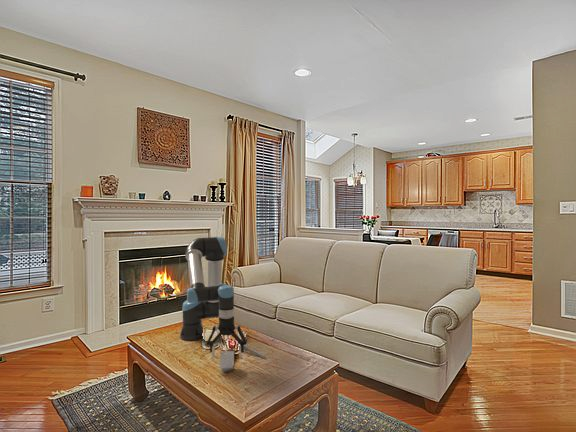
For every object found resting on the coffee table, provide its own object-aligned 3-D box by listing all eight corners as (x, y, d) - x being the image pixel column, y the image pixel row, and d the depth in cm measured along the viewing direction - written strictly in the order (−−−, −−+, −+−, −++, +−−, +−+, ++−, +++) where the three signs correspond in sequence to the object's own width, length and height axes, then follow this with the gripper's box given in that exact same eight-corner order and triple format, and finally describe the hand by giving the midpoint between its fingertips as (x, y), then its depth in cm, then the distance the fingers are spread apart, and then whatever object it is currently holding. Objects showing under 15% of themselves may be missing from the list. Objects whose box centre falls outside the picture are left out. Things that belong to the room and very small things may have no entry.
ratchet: (232, 372, 170) (231, 359, 170) (220, 372, 170) (220, 360, 170) (237, 353, 192) (237, 342, 192) (227, 353, 192) (227, 342, 192)
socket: (222, 362, 175) (222, 351, 175) (233, 362, 176) (233, 351, 175) (220, 368, 169) (220, 356, 169) (232, 368, 170) (232, 356, 169)
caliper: (237, 351, 196) (237, 340, 195) (238, 350, 196) (238, 339, 196) (266, 359, 185) (266, 348, 184) (267, 358, 186) (267, 347, 185)
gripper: (199, 319, 168) (200, 361, 169) (250, 318, 169) (251, 360, 170) (203, 314, 175) (203, 354, 176) (251, 313, 176) (252, 354, 177)
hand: (227, 357), depth 173 cm, fingers open, 13 cm apart
